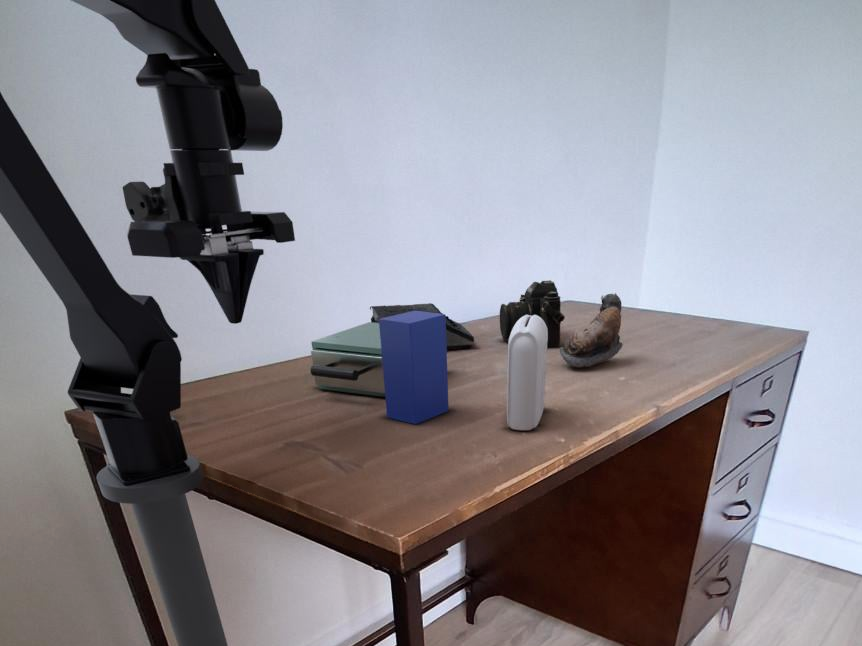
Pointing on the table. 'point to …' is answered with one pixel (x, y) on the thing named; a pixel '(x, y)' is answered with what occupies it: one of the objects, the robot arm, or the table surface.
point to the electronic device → (454, 330)
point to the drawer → (348, 370)
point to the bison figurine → (596, 336)
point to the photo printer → (526, 372)
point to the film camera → (535, 310)
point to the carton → (414, 365)
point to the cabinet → (353, 347)
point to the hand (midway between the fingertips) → (235, 322)
